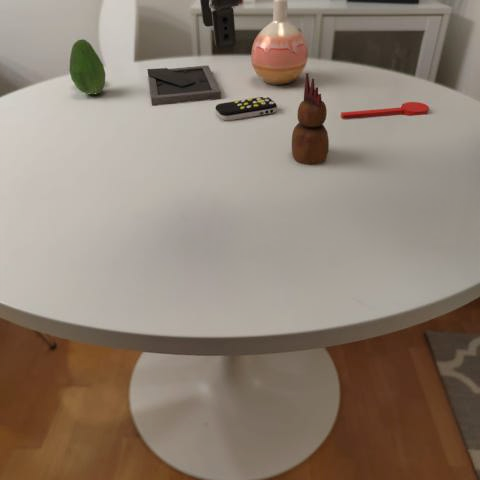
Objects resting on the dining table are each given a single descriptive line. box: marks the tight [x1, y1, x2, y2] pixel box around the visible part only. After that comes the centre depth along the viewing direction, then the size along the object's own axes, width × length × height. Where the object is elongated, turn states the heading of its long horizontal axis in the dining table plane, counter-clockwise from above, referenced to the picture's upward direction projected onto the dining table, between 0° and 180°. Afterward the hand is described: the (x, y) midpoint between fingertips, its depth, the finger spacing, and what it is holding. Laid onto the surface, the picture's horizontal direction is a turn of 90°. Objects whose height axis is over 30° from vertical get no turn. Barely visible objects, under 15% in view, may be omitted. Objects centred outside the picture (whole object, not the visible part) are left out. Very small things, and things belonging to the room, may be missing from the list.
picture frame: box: [146, 65, 222, 106], centre depth 112 cm, size 16×2×21 cm
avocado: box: [68, 38, 106, 95], centre depth 107 cm, size 8×8×12 cm
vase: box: [250, 0, 309, 86], centre depth 108 cm, size 14×14×18 cm
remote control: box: [215, 95, 278, 122], centre depth 98 cm, size 6×13×2 cm, turn 109°
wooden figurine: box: [291, 72, 330, 165], centre depth 75 cm, size 7×6×15 cm
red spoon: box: [340, 101, 430, 120], centre depth 96 cm, size 19×6×1 cm, turn 98°
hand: (218, 35), depth 53 cm, fingers open, 8 cm apart
